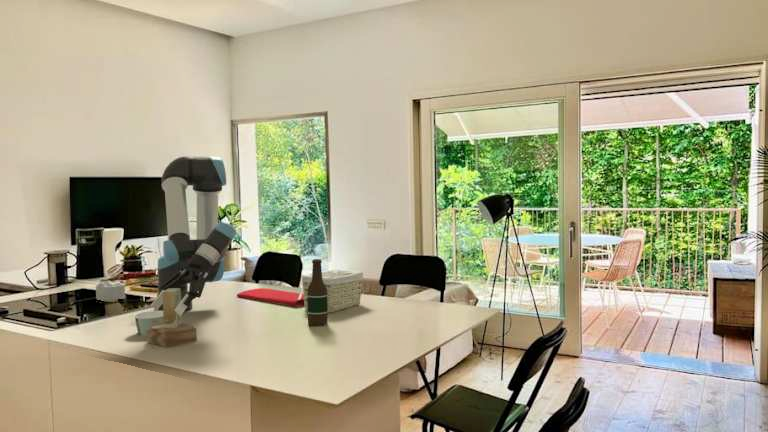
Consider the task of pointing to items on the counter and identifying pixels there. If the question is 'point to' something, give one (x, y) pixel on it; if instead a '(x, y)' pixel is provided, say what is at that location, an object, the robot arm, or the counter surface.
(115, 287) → the lumpy-topped squat cylinder
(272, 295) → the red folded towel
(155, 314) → the food container
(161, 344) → the walnut base
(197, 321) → the counter surface
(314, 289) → the beer bottle
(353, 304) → the storage basket
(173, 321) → the skincare box
